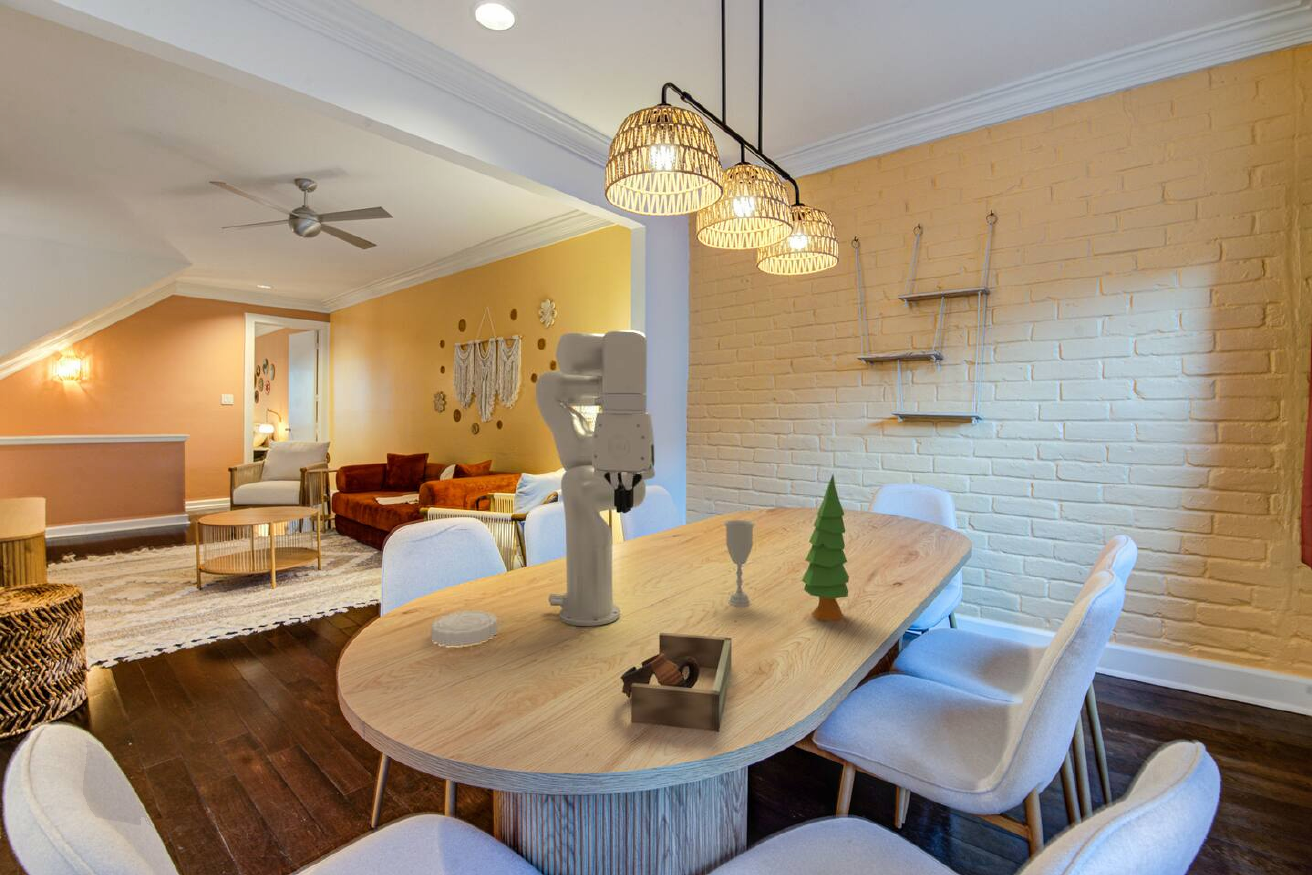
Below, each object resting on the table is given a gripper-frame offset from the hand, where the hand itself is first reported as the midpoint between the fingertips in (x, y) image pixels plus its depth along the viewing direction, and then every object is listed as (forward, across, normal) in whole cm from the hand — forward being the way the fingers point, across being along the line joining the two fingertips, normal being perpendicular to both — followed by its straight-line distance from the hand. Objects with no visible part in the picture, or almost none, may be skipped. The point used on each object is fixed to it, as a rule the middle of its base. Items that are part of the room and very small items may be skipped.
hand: (623, 511), depth 100 cm
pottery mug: (+25, +11, -15) cm, 31 cm away
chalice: (+26, +16, +34) cm, 46 cm away
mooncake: (+27, -32, +1) cm, 42 cm away
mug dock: (+25, +14, -10) cm, 30 cm away
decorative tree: (+26, +34, +30) cm, 52 cm away
